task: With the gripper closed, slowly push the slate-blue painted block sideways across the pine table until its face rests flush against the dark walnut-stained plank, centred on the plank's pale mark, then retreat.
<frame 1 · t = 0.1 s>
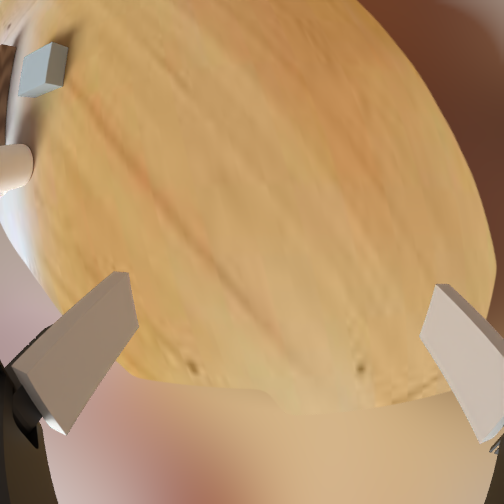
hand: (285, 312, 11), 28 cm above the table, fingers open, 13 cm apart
mug: (20, 171, 38), on the table
block: (51, 72, 32), on the table
board: (5, 96, 32), on the table
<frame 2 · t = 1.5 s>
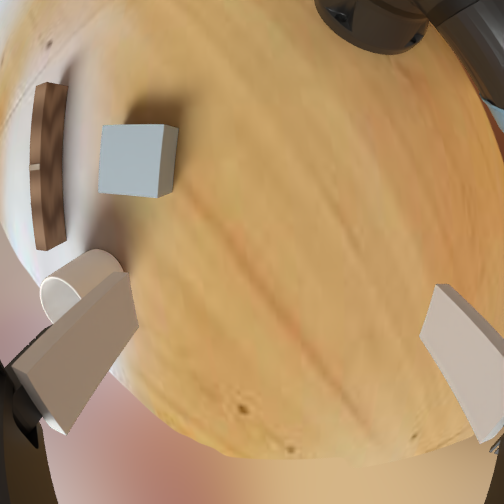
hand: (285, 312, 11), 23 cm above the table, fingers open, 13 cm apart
mug: (99, 280, 38), on the table
block: (146, 158, 32), on the table
board: (56, 163, 32), on the table
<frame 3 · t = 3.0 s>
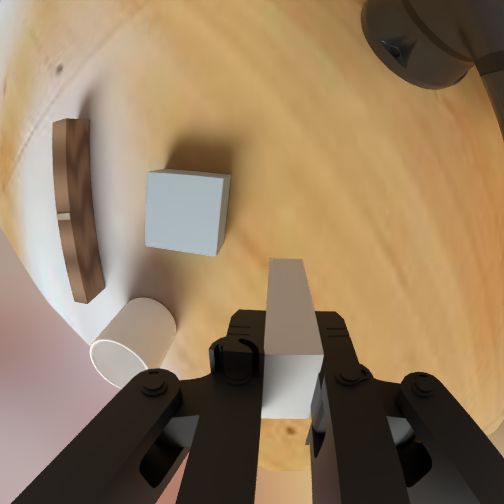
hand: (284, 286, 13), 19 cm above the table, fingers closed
mug: (145, 325, 39), on the table
block: (194, 205, 32), on the table
board: (86, 207, 33), on the table
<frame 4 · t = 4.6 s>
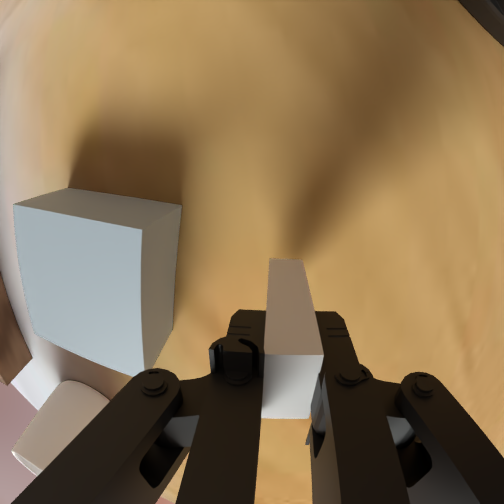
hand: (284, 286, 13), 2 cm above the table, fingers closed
mug: (89, 409, 22), on the table
block: (117, 258, 16), on the table
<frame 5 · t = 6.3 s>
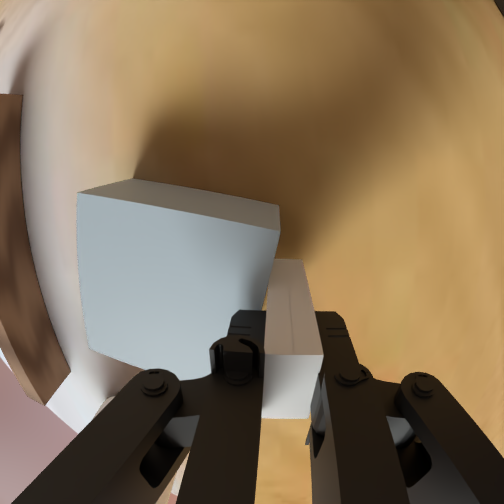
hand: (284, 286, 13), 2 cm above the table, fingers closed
block: (191, 260, 15), on the table, touching gripper
board: (22, 250, 16), on the table
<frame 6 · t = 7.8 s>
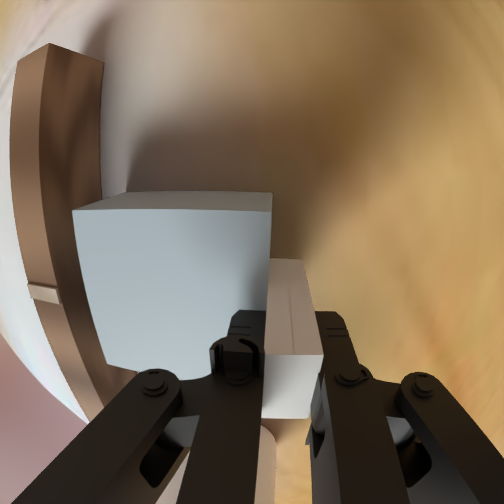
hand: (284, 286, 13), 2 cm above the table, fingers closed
mug: (216, 440, 21), on the table
block: (196, 262, 15), on the table, touching gripper
board: (93, 257, 16), on the table
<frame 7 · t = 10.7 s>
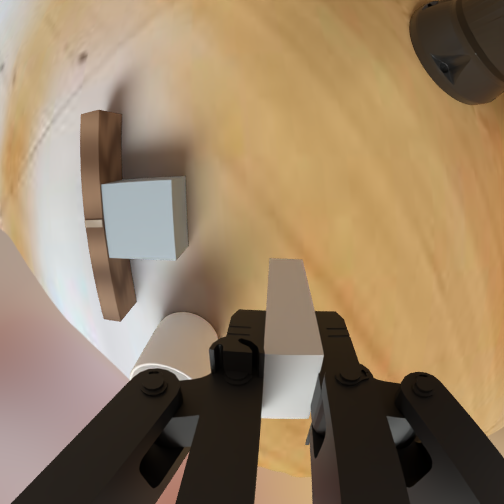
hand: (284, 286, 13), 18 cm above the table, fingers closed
mug: (181, 341, 37), on the table
block: (154, 211, 31), on the table
board: (115, 213, 31), on the table
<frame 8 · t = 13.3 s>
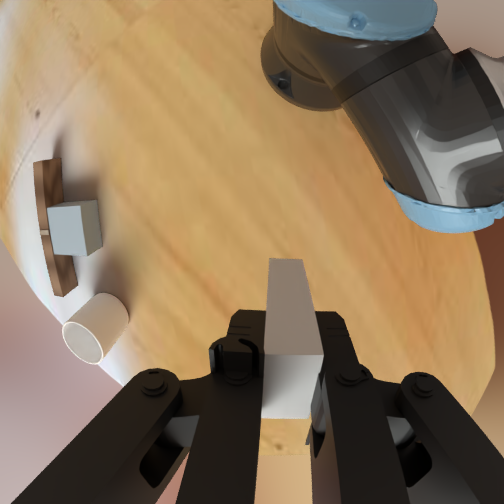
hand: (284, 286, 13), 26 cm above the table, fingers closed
mug: (107, 315, 47), on the table
block: (82, 223, 42), on the table
board: (61, 224, 42), on the table
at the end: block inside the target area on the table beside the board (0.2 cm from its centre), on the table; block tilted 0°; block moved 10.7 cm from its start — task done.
